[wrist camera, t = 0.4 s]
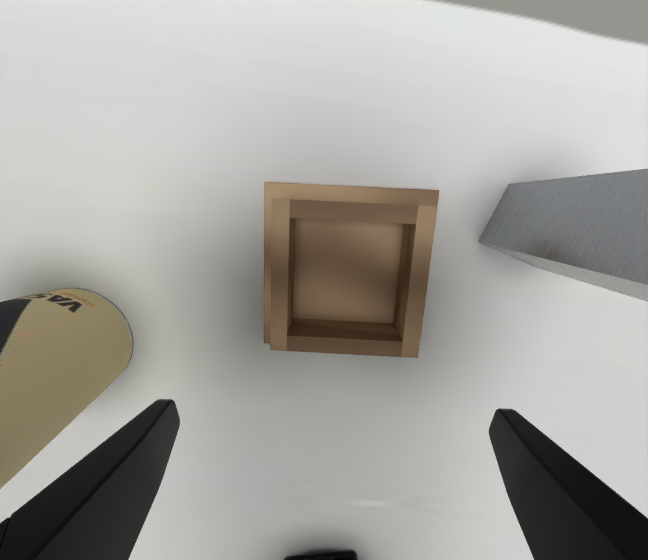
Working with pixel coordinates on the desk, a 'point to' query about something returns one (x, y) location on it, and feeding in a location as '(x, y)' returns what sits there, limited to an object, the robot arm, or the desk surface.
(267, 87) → the desk surface
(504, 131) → the desk surface
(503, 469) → the robot arm
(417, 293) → the well
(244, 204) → the desk surface
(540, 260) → the silver block
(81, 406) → the coffee cup
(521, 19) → the desk surface
